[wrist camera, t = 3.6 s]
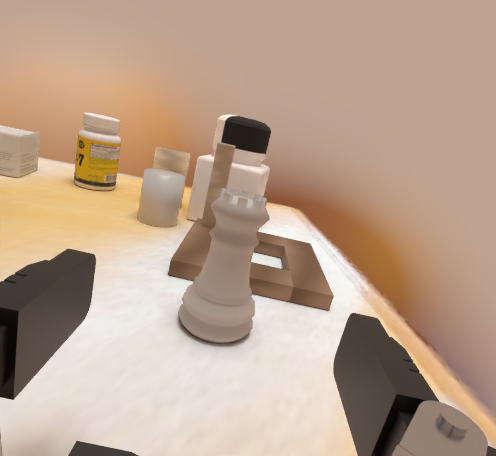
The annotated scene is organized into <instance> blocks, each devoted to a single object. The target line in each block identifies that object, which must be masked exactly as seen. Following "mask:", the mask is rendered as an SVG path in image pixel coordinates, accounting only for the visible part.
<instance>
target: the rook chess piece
mask: <svg viewBox="0 0 496 456" xmlns="http://www.w3.org/2000/svg"><path fill="white" fill-rule="evenodd" d="M249 192H250V191H247V190H243V189H241V192H240V196H234V194H235V189H234V188H228V187H226V189H224V188H222V189H221V193H220V197H219V198H218V199H217V200H215V201H214V202H213V203H212V204H211V208H212V210H213V213H214V215H215V217H216V225H215V227H214V228H213V229H211V230H210V232H209V234H210V236H211V238H212V240H211V245H210V250H209V253H208V256H207V258H206V261H205V264H204V267H203V269H202V271H201V273H200V275H199V276H197V277H195V279H194V282H193V284H192V285H190V286H188V288H187V289H186V291H185V293H184V296H183V298H182V300H183V304H182V305H181V307H180V309H179V311H178V313H179V316H180V319H181V322H182V323H183V325H184V327H185V328H186V329H187V330H188V331H189V332H190V333H191V334H192V335H194V336H196V337H198V338H200V339H202V340H205V341H210V342H214V343H231V342H234V341H237V340H239V339H241V338H242V337H244V336H245V335H246V334H247V333H248V332H249V331H250V330H251V329H252V322H253V321H252V319H251V318H252V317H253V316H254V315H255V302H254V300H253V299H252V297H251V296H252V290H251V288H250V285H249V276H250V266H251V259H252V255H253V251H254V248H255V247H256V246H257V245H259V240H258V238H257V232H258V230H259V228H260V227H261V226H263V225H264V224H265V223H266V222H267V221H268V220H270V219H269V215H268V213H267V210H266V208H265V206H266V202H267V199H266V198H263V196H262V195H260V194H254V198H253V200H251V199H248V196H249Z"/></svg>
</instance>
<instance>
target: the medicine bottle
mask: <svg viewBox="0 0 496 456" xmlns="http://www.w3.org/2000/svg"><path fill="white" fill-rule="evenodd" d="M270 134H271V130H270V128H269V127H268V126H267V125H266V124H264V123H262V122H259V121H256V120H252V119H248V118H244V117H240V116H235V115H224V116H220V117H219V118H218V121H217V126H216V131H215V136H214V141H213V146H212V149H214V150H215V151H214V154H211V155H205V156H199V157H198V159H197V164H196V170H195V175H194V180H193V186H192V191H191V196H190V201H189V207H188V212H187V218H188V219H189V220H193V221H196V220H197V218H200V219H202V217H203V212H204V207H205V202H206V197H207V192H208V187H209V182H210V178H211V173H212V168H213V163H214V158H215V153H216V148H217V143H218V142H221V143H225V144H229V145H234V146H236V147H235V151H234V156H233V161H232V165H231V170H230V174H229V179H228V184H227V187H228V188H234V189H235V194H234V196H240V192H241V189H243V190H247V191H250V192H249V196H248V199H251V200H253V198H254V194H260V195H262V196H263V195H264V191H265V187H266V183H267V179H268V175H269V171H270V169H269V167H268V166H265V165H263V164H261V161H264V159H265V155H266V151H267V147H268V143H269V138H270Z"/></svg>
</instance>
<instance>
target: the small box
mask: <svg viewBox="0 0 496 456" xmlns="http://www.w3.org/2000/svg"><path fill="white" fill-rule="evenodd" d="M38 152H39V133H36V132H31V131H25V130H21V129H16V128H11V127H6V126H1V125H0V175H6V176H11V177H16V178H20V177H22V176H25V175H27V174H30V173H32V172H34V171H37V168H38Z"/></svg>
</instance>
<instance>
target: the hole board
mask: <svg viewBox="0 0 496 456" xmlns="http://www.w3.org/2000/svg"><path fill="white" fill-rule="evenodd" d="M235 147H236V146H234V145H229V144H225V143H221V142H218V143H217V148H216V153H215V158H214V163H213V168H212V173H211V178H210V182H209V187H208V192H207V197H206V202H205V207H204V212H203V217H202V219H200V218H197V220H196V221H195V223H194V224H193V226H192V227H191V229H190V231H189V232H188V234H187V235H186V237H185V238H184V240H183V242H182V243H181V245H180V246H179V248H178V249H177V251H176V253H175V254H174V256H173V257H172V259H171V262H170V268H169V273H168V275H171V276H175V277H180V278H184V279H189V280H193V281H194V279H195V277H197V276H199V275H200V273H201V271H202V269H203V267H204V264H205V261H206V258H207V256H208V253H209V250H210V245H211V240H212V238H211V236H210V234H209V232H210V230H211V229H213V228H214V227H215V225H216V217H215V215H214V213H213V210H212V208H211V204H212V203H213V202H214V201H215V200H217V199H218V198H219V197H220V193H221V189H222V188H224V189H226V187H227V184H228V179H229V174H230V170H231V165H232V161H233V156H234V151H235ZM257 238H258V240H259V245H257V246H256V247H255V248H254V251H253V252H257V253H261V254H266V255H270V256H274V257H279V258H281V259H282V264H283V269H279V268H275V267H270V266H266V265H261V264H257V263H252V262H251V266H250V276H249V285H250V288H251V290H252V294H257V295H261V296H266V297H270V298H275V299H279V300H284V301H289V302H293V303H298V304H302V305H307V306H311V307H316V308H320V309H325V310H329V309H330V305H331V302H332V299H333V293H332V291H331V289H330V287H329V284H328V282H327V280H326V278H325V275H324V273H323V271H322V269H321V267H320V264H319V262H318V260H317V258H316V255H315V253H314V251H313V249H312V246H311V244H310V243H305V242H301V241H297V240H292V239H288V238H283V237H279V236H275V235H270V234H266V233H261V232H257Z"/></svg>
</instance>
